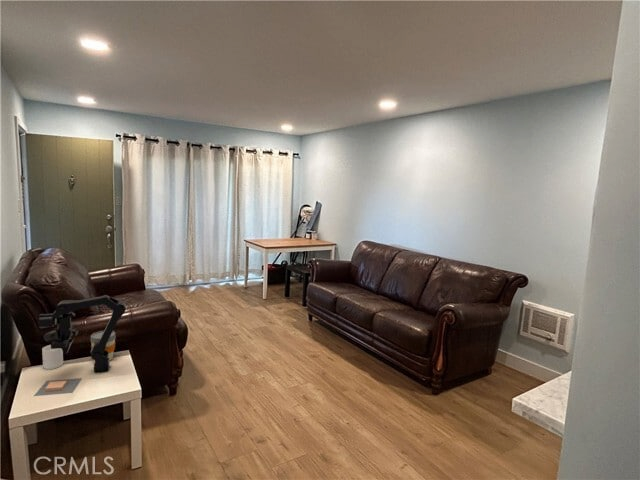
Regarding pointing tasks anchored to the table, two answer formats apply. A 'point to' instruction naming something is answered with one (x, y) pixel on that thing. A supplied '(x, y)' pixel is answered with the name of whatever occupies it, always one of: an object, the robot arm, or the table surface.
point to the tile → (56, 386)
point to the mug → (52, 357)
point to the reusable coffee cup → (110, 344)
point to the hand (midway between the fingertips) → (65, 354)
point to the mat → (68, 388)
